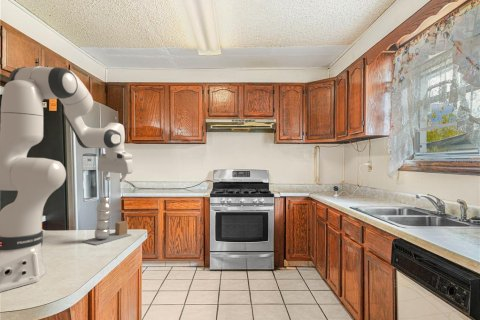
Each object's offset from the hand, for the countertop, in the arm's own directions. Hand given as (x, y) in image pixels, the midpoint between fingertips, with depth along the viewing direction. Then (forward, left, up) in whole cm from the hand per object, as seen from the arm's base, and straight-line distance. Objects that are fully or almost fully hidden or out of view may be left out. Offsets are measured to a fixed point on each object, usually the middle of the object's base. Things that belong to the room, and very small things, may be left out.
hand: (114, 181), depth 144 cm
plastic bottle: (-10, -4, -27) cm, 29 cm away
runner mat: (-6, -4, -28) cm, 29 cm away
